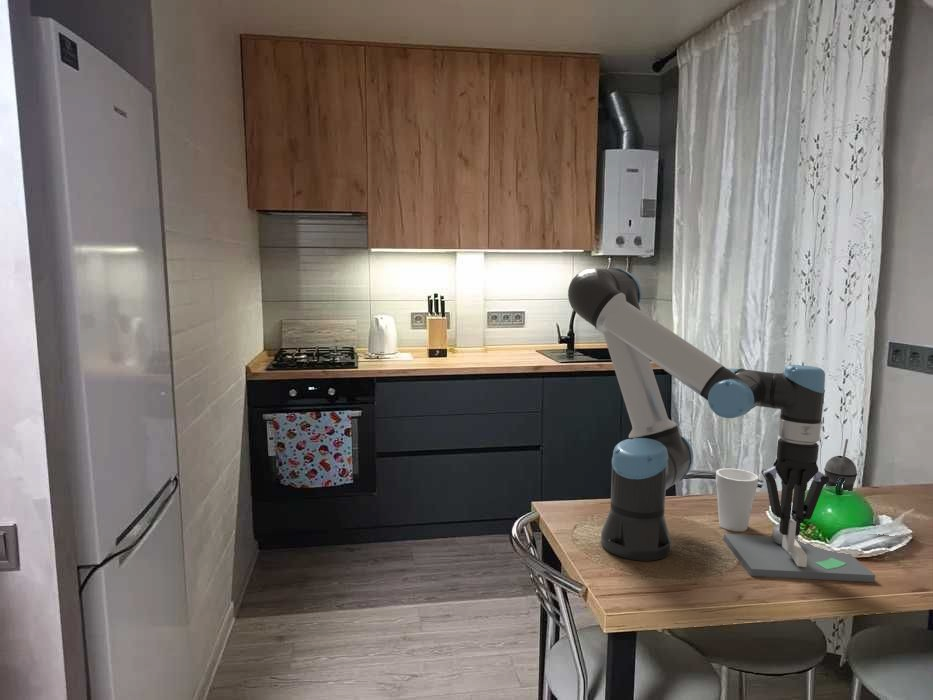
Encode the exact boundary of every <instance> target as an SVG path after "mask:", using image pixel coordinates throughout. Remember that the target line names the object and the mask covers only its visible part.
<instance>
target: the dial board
mask: <svg viewBox="0 0 933 700" xmlns="http://www.w3.org/2000/svg"><path fill="white" fill-rule="evenodd" d="M722 540H723V541H724V543H725V544H726V546H727V548H729V549H730V551H731V550H732V551H731V552H732V553H733V555H734V556H735V557H736V558H737V560H738V561H739V562H740V564H741V565H742V566H743V568H744V569H745V571H746V572H747V573H748V574H749V575H750V577H763V576H764V578H765V577H767V578H781V579H782V578H783V579H784V578H789V579H803V580H804V579H808V580H824V581H844V582H858V583H859V582H861V583H862V582H863V583H875V582H876V581H875V579H876V574H875V573H873V572H872V570H870V569H868V568H867V567H866V566H865V565H864V564H863V563H862V562H860V561H859V560H858V559H857V558H856V557H854V556H853V555H852V554H851V553H850V554H845V553H837V552H832V551H827V550H824V549H820V548H817V547H814V546H811V545H808V544H804V543H802V542H800V541H798V540H797V542H798V544H799V545H800V546H801V548H802V549H803V551H804V552H805V553H806V555H807V566H806V567H801V566H797V564H796V563H795V561H794V560H793V558H792V557H791V555H790V554H789V552H787V551H786V550H785V549H784V548H783V547H782V544H779V543H776V542H774V541H773V540H772V535H760V534H739V533H738V534H736V533H723V539H722Z"/></svg>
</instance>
